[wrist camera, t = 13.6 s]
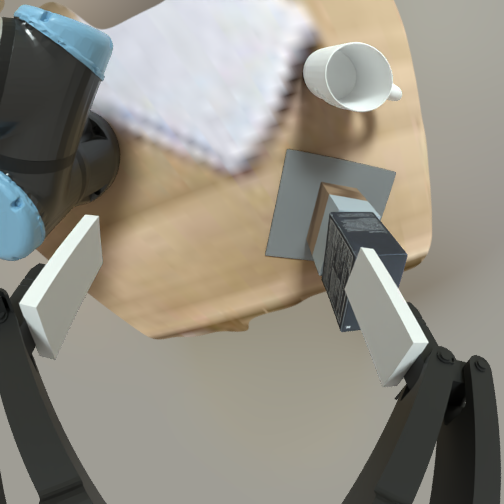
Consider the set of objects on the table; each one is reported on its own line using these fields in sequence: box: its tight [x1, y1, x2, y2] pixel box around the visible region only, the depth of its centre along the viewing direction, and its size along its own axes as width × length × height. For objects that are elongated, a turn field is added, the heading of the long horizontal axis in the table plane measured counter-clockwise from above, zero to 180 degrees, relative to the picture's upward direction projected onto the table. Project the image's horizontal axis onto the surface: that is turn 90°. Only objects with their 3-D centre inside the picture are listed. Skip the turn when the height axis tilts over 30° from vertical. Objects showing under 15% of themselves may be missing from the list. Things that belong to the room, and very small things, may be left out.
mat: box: [265, 149, 396, 261], centre depth 50 cm, size 18×18×1 cm
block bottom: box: [306, 182, 367, 255], centre depth 48 cm, size 6×10×5 cm, turn 171°
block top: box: [312, 194, 381, 276], centre depth 44 cm, size 6×10×5 cm, turn 172°
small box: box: [322, 212, 407, 332], centre depth 37 cm, size 11×6×10 cm, turn 1°
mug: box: [303, 42, 402, 112], centre depth 34 cm, size 8×12×12 cm
